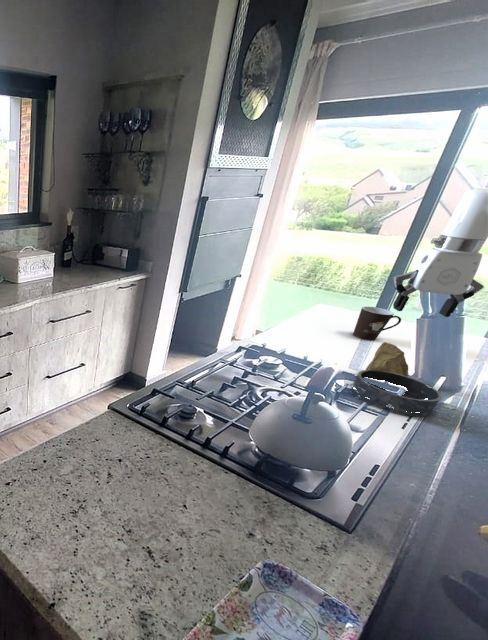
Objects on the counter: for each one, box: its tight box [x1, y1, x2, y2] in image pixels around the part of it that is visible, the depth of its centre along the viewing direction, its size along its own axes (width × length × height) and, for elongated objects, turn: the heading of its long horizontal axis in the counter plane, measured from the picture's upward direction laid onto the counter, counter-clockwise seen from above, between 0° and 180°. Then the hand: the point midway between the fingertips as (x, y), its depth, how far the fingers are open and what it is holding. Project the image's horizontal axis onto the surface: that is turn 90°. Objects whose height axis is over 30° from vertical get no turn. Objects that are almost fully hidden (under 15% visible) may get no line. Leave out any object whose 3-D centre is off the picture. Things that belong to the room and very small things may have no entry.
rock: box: [365, 342, 409, 377], centre depth 116 cm, size 11×9×10 cm
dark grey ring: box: [350, 369, 443, 417], centre depth 105 cm, size 16×16×4 cm
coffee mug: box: [352, 305, 402, 342], centre depth 142 cm, size 12×9×10 cm
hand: (420, 312), depth 105 cm, fingers open, 9 cm apart
